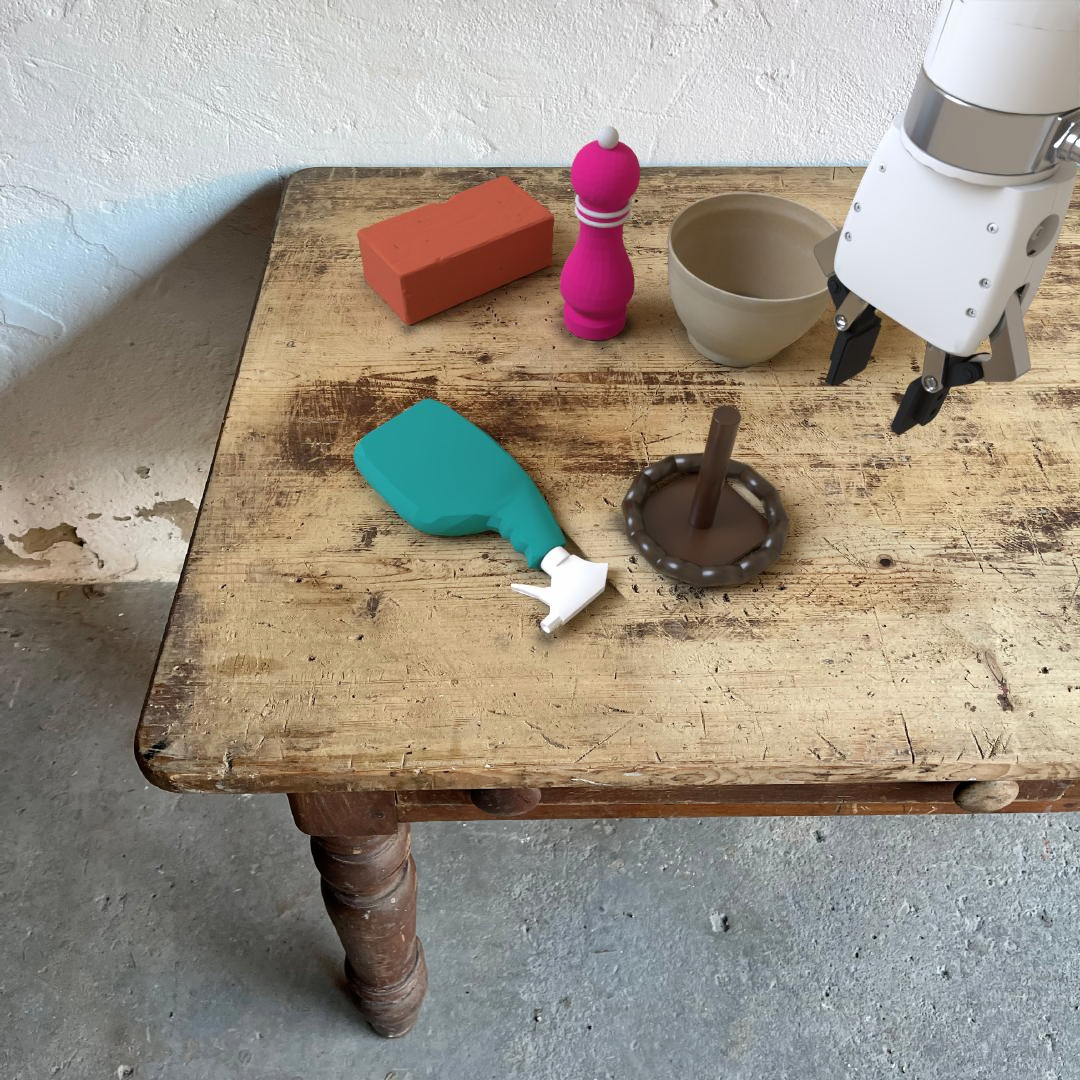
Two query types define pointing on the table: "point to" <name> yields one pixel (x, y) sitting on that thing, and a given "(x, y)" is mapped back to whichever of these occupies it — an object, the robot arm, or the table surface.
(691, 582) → the ring
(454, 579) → the table surface
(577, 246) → the pepper mill
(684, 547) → the stand
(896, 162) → the robot arm
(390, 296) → the brick
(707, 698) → the table surface
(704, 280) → the planter bowl
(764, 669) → the table surface
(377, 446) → the spray bottle
